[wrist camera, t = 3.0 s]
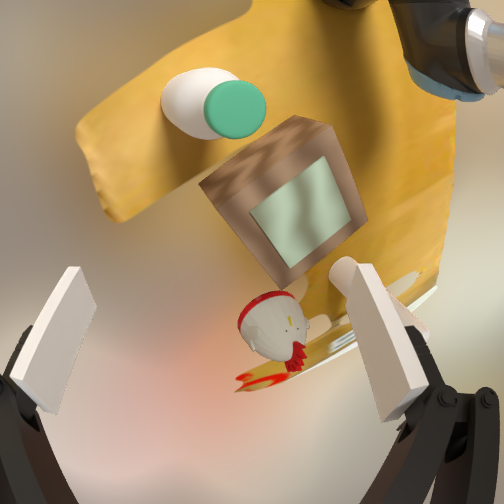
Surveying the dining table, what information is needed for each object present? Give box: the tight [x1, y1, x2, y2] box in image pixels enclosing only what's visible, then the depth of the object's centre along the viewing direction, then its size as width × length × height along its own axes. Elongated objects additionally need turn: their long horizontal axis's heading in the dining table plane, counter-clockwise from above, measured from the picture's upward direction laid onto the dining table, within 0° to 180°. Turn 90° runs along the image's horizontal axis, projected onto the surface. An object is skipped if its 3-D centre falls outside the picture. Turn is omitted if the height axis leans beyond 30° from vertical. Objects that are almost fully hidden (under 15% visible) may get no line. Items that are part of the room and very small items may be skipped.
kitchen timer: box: [238, 290, 310, 372], centre depth 57 cm, size 14×14×15 cm
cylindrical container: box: [328, 256, 430, 342], centre depth 55 cm, size 7×7×25 cm
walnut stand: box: [199, 115, 368, 291], centre depth 44 cm, size 18×18×10 cm
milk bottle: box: [161, 68, 266, 140], centre depth 27 cm, size 8×8×20 cm
